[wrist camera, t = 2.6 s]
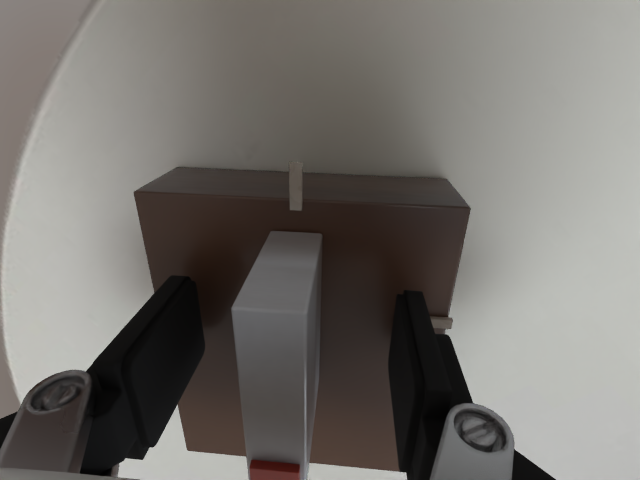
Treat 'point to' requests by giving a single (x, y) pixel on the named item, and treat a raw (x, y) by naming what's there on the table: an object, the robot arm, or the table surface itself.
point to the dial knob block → (336, 287)
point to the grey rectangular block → (280, 354)
